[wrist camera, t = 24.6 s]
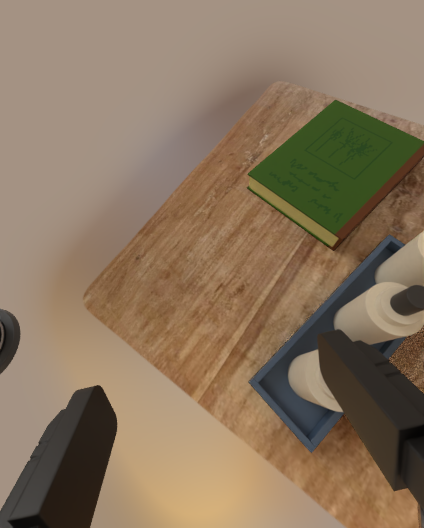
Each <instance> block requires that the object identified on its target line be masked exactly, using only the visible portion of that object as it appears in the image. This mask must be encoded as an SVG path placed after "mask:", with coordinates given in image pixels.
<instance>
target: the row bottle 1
mask: <svg viewBox="0 0 424 528" xmlns="http://www.w3.org/2000/svg"><path fill="white" fill-rule="evenodd" d="M374 278H375V282H376V284H379V283H382V282H394V283H399V284H401V285H404V286H406V287H410V286H413V285H421V286H424V231H423V232H421V233H420V234H419V235H418V236H416V237H415V238H414V239H412V240H411V241H410V242H409V243H407V244H406V245H405V246H404V247H402V248H401V249H400V250H399V251H397V252H396V253H395V254H393V255H392V256H391V257H390V258H388V259H387V260H386V261H385V262H383V263H382V264H381V265H379V266H378V267H377V269H376V271H375V275H374Z"/></svg>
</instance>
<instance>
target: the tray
mask: <svg viewBox="0 0 424 528" xmlns="http://www.w3.org/2000/svg"><path fill="white" fill-rule="evenodd" d="M404 246H405V244H403V243H402V242H400V241H399V240H397V239H396V238H394V237H393V236H391V235H388V236H387V237H386V238H385V239H384V240H383V241H382V242H381V243H380V244H379V245H378V246H377V247H376V248H375V249H374V250H373V251H372V252H371V253H370V254H369V255H368V256H367V258H366V259H365V260H364V261H363V262H362V263H361V264H360V265H359V266H358V267H357V268H356V269H355V270H354V271H353V272H352V273H351V274H350V275H349V277H348V278H347V279H346V280H345V281H344V282H343V283H342V284H341V285H340V286H339V287H338V288H337V289H336V290H335V291H334V292H333V293H332V294H331V295H330V297H329V298H328V299H327V300H326V301H325V302H324V303H323V304H322V305H321V306H320V307H319V308H318V309H317V310H316V311H315V312H314V313H313V314H312V316H311V317H310V318H309V319H308V320H307V321H306V322H305V323H304V324H303V325H302V326H301V327H300V328H299V329H298V330H297V331H296V332H295V333H294V334H293V336H292V337H291V338H290V339H289V340H288V341H287V342H286V343H285V344H284V345H283V346H282V347H281V348H280V349H279V350H278V351H277V352H276V353H275V354H274V356H273V357H272V358H271V359H270V360H269V361H268V362H267V363H266V364H265V365H264V366H263V367H262V368H261V369H260V370H259V371H258V372H257V373H256V375H255V376H254V377H253V378H252V379H251V380H250V381H249V383H250V384H251V386H252V387H253V388H254V389H255V390H256V391H257V392H258V393H259V395H260V396H261V397H262V398H263V399H264V400H265V401H266V403H267V404H268V405H269V406H270V407H271V408H272V409H273V410H274V412H275V413H276V414H277V415H278V416H279V417H280V418H281V419H282V421H283V422H284V423H285V424H286V425H287V426H288V427H289V428H290V430H291V431H292V432H293V433H294V434H295V435H296V436H297V438H298V439H299V440H300V441H301V442H302V443H303V444H304V445H305V447H306V448H307V449H308V450H309V451H310V452H311V453H312V452H313V451H314V449H315V448H316V447H317V446H318V445H319V443H320V442H321V441H322V440H323V439H324V437H325V436H326V435H327V434H328V432H329V431H330V430H331V429H332V428H333V426H334V425H335V424H336V423H337V421H338V420H339V419H340V418H341V417H342V415H343V414H344V412H337V411H333V410H330V409H328V408H325V407H322V406H320V405H317V404H315V403H312V402H310V401H307V400H305V399H303V398H301V397H299V396H298V395H297V394H296V393H295V392H294V391H293V389H292V388H291V386H290V384H289V380H288V368H289V365H290V363H291V362H292V360H293V359H294V358H296V357H297V356H299V355H302V354H305V353H308V352H311V351H314V350H317V349H318V342H317V336H318V334H320V333H324V332H328V331H332V330H335V329H334V325H333V319H334V316H335V313H336V312H337V311H338V310H339V309H340V308H342V307H343V306H345V305H346V304H348V303H349V302H351V301H352V300H354V299H355V298H357V297H358V296H360V295H361V294H363V293H364V292H366V291H367V290H369V289H370V288H372V287H373V286H375V285H376V282H375V278H374V275H375V271H376V269H377V267H378V266H379V265H381V264H382V263H383V262H385V261H386V260H387V259H388V258H390V257H391V256H392V255H393V254H395V253H396V252H397V251H399V250H400V249H401V248H402V247H404ZM406 337H407V336H406ZM406 337H401V338H397V339H393V340H388V341H384V342H380V343H375V344H371V345H370V346H372V347H374V348H376V349H377V350H378V351H379V352H380V353H382V354H383V355H384V356H385V357H386V358H387V359H389V358H390V357H391V355H392V354H393V353H394V352H395V351H396V349H397V348H398V347H399V346H400V344H401V343H402V342H403V341H404V340H405V338H406Z"/></svg>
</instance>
